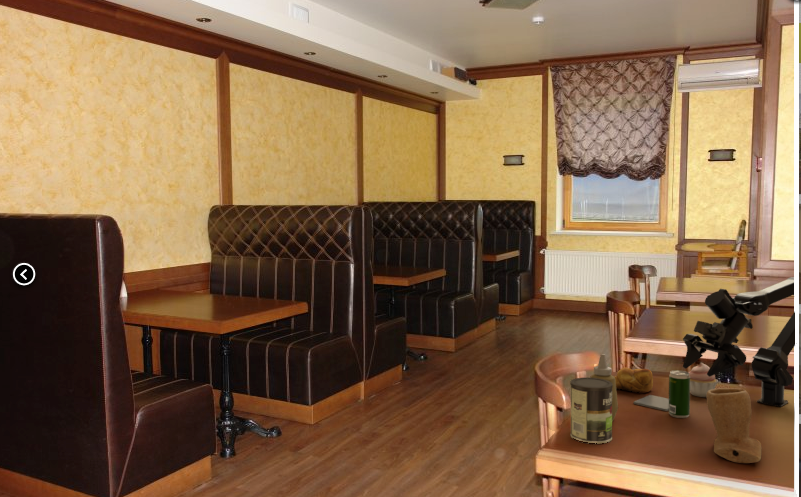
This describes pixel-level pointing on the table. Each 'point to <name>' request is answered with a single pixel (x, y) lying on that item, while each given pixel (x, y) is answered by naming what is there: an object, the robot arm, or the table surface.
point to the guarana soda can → (679, 394)
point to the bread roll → (634, 380)
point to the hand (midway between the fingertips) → (695, 371)
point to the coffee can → (591, 410)
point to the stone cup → (733, 425)
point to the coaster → (654, 402)
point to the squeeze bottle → (605, 373)
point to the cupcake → (701, 380)
